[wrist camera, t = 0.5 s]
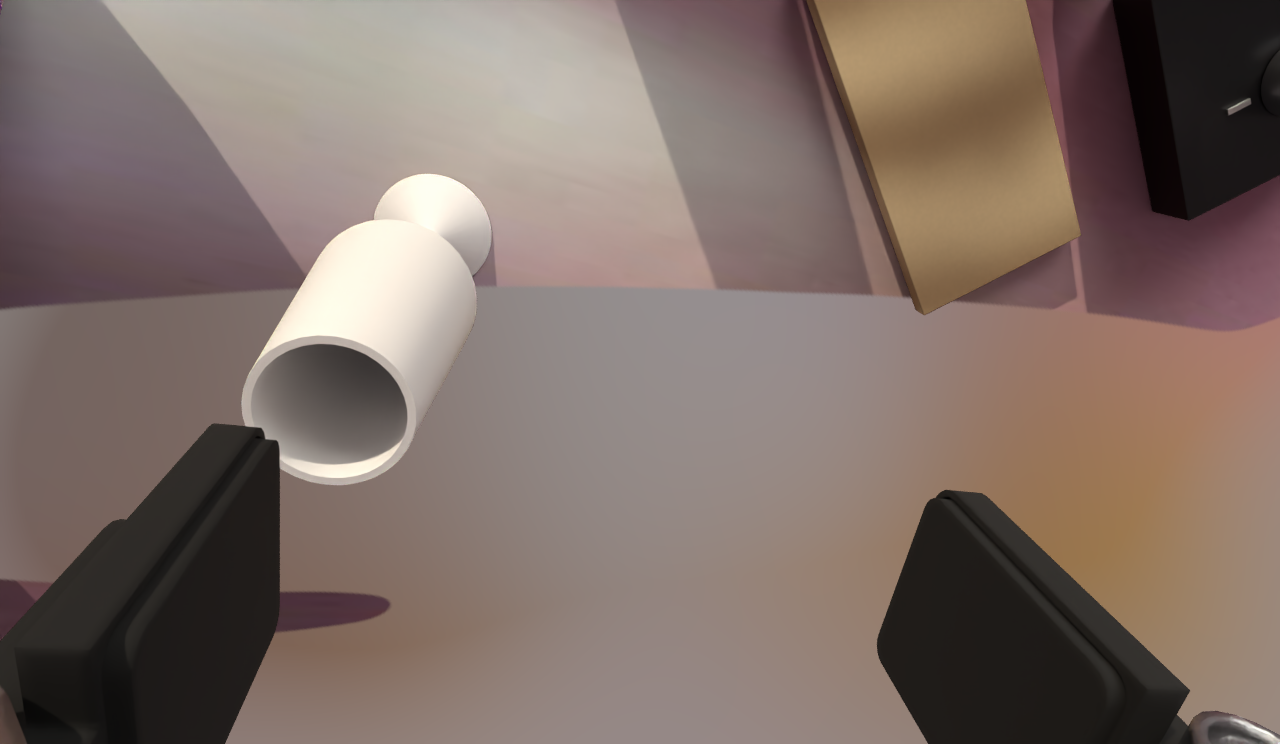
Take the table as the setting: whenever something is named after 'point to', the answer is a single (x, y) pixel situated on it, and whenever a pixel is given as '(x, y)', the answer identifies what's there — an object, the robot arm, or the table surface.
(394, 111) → the table surface
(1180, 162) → the panel
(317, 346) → the champagne flute
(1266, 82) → the hob knob
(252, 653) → the robot arm
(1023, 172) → the board
